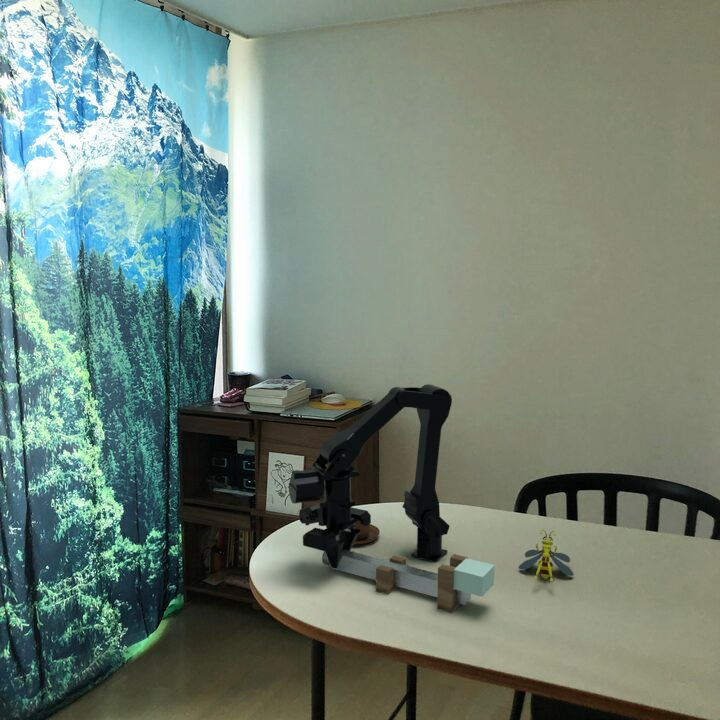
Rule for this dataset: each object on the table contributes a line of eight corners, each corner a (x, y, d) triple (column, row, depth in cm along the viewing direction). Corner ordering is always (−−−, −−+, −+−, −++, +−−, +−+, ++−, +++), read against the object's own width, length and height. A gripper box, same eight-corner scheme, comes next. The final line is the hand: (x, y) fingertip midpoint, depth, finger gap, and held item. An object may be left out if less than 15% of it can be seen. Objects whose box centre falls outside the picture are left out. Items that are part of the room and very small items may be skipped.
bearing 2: (453, 593, 146) (454, 553, 144) (466, 596, 144) (467, 557, 143) (437, 608, 139) (437, 567, 138) (451, 612, 138) (452, 571, 136)
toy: (514, 557, 145) (521, 524, 159) (513, 594, 147) (520, 558, 161) (574, 565, 142) (575, 530, 156) (572, 602, 144) (574, 565, 158)
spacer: (465, 577, 143) (466, 558, 142) (494, 584, 140) (494, 565, 139) (453, 589, 138) (453, 569, 137) (482, 596, 134) (482, 576, 134)
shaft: (332, 560, 159) (332, 544, 158) (471, 598, 141) (472, 580, 141) (322, 567, 156) (322, 550, 155) (463, 607, 138) (464, 588, 137)
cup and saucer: (322, 544, 170) (322, 519, 170) (342, 526, 181) (342, 503, 181) (369, 552, 166) (369, 527, 165) (386, 533, 177) (386, 509, 176)
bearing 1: (393, 576, 153) (394, 554, 152) (406, 580, 151) (406, 558, 151) (376, 591, 146) (376, 568, 146) (388, 594, 145) (388, 571, 144)
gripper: (331, 479, 165) (331, 542, 168) (281, 503, 150) (283, 572, 152) (371, 487, 160) (372, 552, 162) (325, 512, 144) (325, 585, 146)
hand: (338, 565), depth 156 cm, fingers closed on shaft, 3 cm apart
